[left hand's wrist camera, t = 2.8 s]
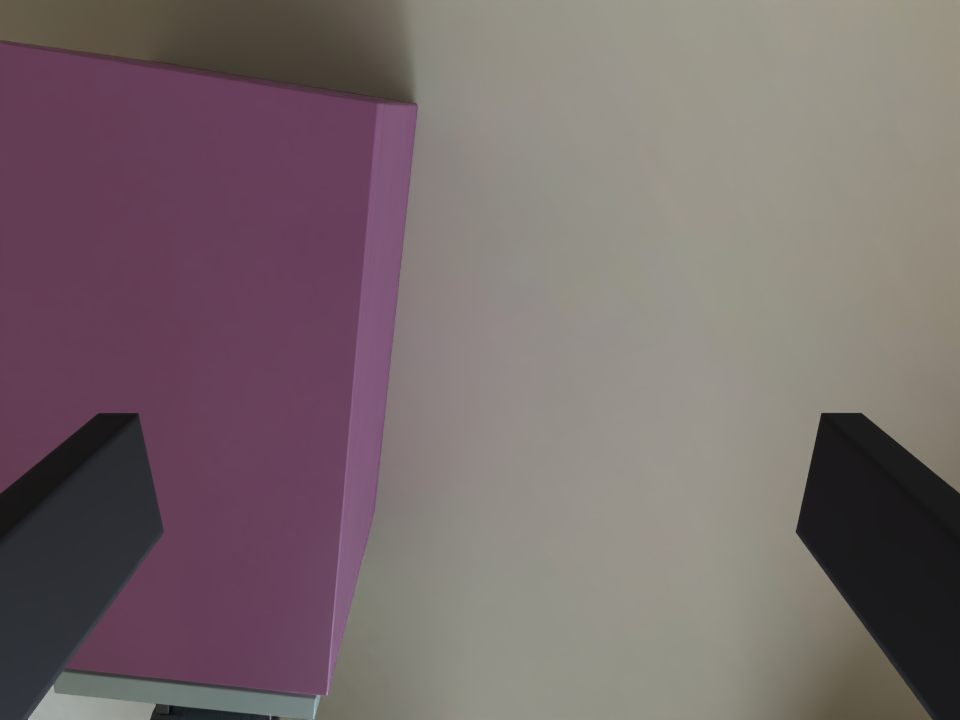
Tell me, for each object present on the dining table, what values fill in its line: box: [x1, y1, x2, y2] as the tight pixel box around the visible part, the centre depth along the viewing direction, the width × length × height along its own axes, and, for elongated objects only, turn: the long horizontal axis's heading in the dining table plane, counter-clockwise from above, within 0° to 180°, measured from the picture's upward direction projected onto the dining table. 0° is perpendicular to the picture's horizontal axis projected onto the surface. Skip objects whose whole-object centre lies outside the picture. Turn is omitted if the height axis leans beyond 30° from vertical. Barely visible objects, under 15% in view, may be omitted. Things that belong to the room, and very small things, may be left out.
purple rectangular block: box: [0, 40, 418, 696], centre depth 26 cm, size 21×12×12 cm, turn 171°
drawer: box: [54, 668, 321, 720], centre depth 28 cm, size 25×10×10 cm, turn 172°
